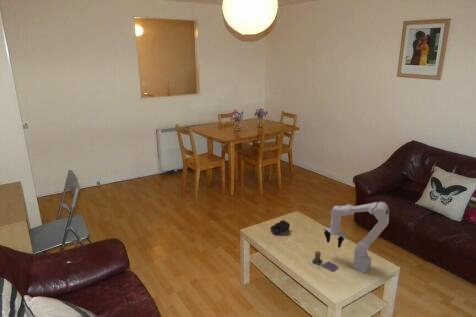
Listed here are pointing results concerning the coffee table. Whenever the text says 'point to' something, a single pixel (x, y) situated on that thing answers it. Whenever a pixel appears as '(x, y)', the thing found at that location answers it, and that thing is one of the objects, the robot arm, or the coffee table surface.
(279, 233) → the crystal cluster
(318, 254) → the stamp
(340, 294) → the coffee table surface
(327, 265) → the ink pad
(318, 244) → the coffee table surface
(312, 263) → the sheet
